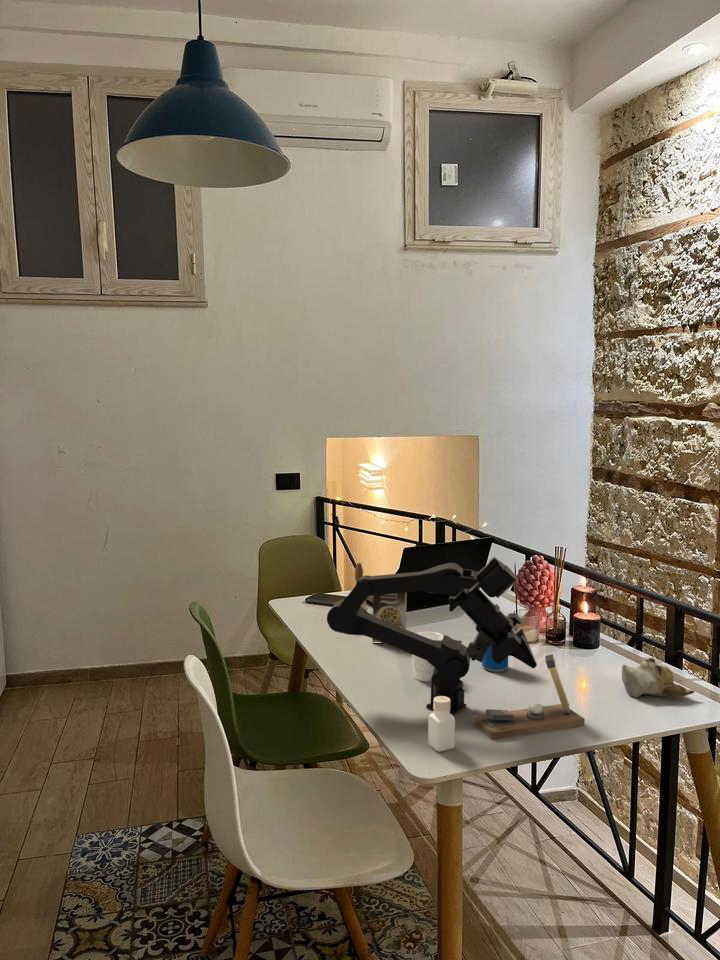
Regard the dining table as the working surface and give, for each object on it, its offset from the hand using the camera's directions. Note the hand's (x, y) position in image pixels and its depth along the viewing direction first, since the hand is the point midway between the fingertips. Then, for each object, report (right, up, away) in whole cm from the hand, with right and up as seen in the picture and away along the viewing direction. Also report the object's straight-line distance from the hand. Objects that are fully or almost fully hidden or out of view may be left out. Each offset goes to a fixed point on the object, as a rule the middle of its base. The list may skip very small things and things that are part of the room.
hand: (535, 666), depth 155 cm
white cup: (-20, -8, +23) cm, 32 cm away
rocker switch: (-9, -9, -6) cm, 14 cm away
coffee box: (-28, -6, +50) cm, 58 cm away
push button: (-1, -9, -3) cm, 9 cm away
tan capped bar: (+6, -9, -1) cm, 11 cm away
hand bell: (-37, -3, +78) cm, 86 cm away
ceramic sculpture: (+30, -10, +13) cm, 34 cm away
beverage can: (-3, -8, +29) cm, 30 cm away
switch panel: (-2, -11, -3) cm, 12 cm away
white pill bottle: (-21, -12, -14) cm, 28 cm away
